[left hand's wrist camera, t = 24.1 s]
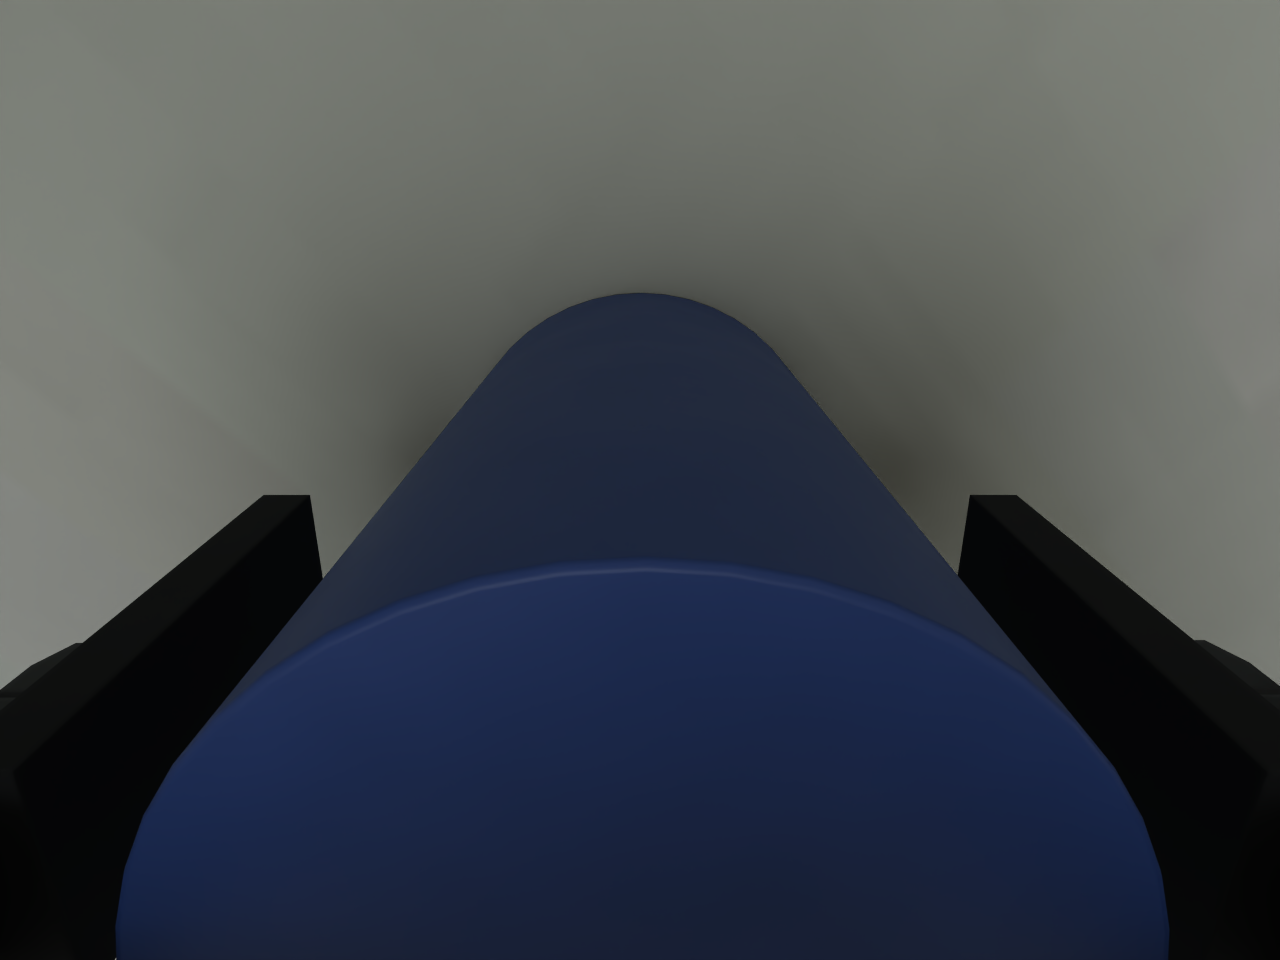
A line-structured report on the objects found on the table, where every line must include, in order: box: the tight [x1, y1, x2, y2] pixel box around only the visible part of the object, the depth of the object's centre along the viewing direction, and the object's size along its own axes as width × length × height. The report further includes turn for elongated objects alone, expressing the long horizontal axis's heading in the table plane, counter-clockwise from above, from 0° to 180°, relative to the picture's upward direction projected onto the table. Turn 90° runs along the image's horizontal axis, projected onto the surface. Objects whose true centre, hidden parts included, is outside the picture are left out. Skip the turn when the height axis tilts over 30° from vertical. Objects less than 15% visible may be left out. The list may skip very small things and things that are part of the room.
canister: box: [115, 293, 1169, 960], centre depth 12 cm, size 8×8×13 cm
